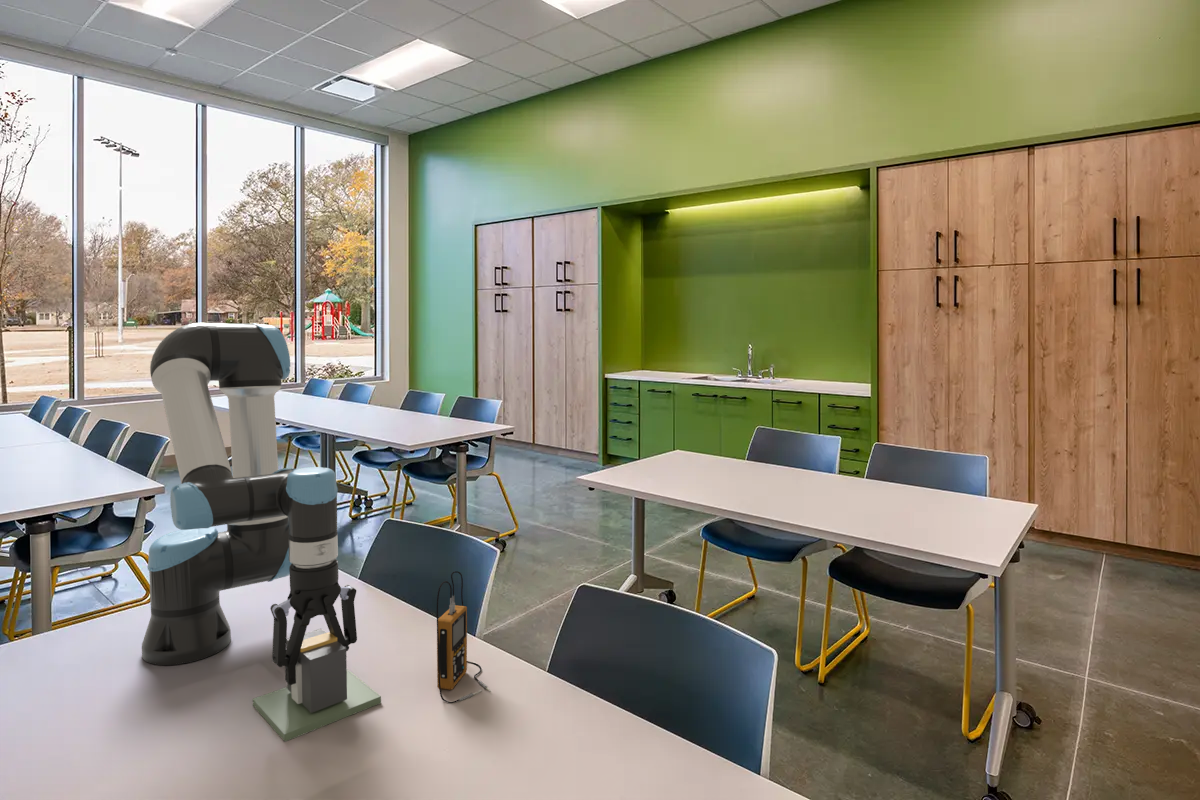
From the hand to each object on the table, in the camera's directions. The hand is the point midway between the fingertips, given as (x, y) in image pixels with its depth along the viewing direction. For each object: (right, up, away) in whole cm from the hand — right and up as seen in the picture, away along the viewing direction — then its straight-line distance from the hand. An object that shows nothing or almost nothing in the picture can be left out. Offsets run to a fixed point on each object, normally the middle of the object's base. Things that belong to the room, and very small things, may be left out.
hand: (317, 692), depth 115 cm
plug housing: (0, 0, 0) cm, 0 cm away
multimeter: (+25, -2, +8) cm, 26 cm away
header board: (0, -2, 0) cm, 2 cm away
